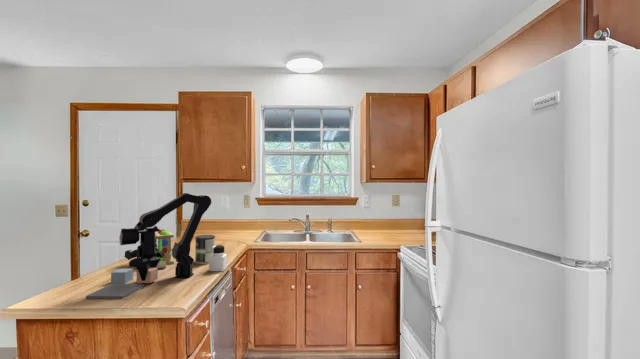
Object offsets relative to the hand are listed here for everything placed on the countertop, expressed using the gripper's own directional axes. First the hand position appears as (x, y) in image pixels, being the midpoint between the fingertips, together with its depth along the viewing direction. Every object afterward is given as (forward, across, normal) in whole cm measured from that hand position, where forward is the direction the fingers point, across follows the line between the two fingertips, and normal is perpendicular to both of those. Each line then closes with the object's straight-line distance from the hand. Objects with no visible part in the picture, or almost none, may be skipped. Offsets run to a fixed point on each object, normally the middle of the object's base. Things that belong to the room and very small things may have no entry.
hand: (147, 278), depth 139 cm
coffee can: (+2, -38, +12) cm, 40 cm away
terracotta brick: (+1, 0, 0) cm, 1 cm away
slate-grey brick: (+2, -2, -12) cm, 12 cm away
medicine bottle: (+2, -22, +24) cm, 33 cm away
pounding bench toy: (+2, -31, -10) cm, 33 cm away
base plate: (+2, +12, -6) cm, 14 cm away
